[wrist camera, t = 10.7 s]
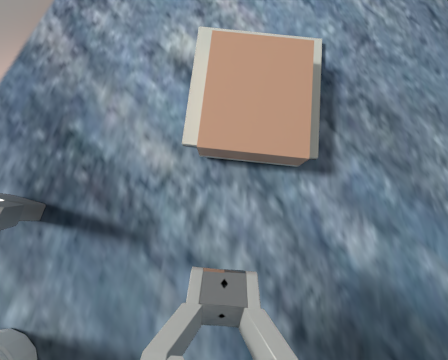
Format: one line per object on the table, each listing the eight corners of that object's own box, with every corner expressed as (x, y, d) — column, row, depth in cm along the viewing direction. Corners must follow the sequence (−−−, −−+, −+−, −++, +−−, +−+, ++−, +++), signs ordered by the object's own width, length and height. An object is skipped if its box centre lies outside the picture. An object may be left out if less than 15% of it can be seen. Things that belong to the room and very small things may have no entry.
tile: (309, 158, 20) (314, 40, 22) (196, 146, 20) (212, 30, 22) (298, 166, 23) (303, 61, 25) (199, 156, 23) (213, 52, 25)
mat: (315, 159, 24) (318, 158, 23) (182, 145, 24) (181, 143, 23) (319, 43, 26) (322, 38, 25) (199, 30, 26) (199, 26, 26)
